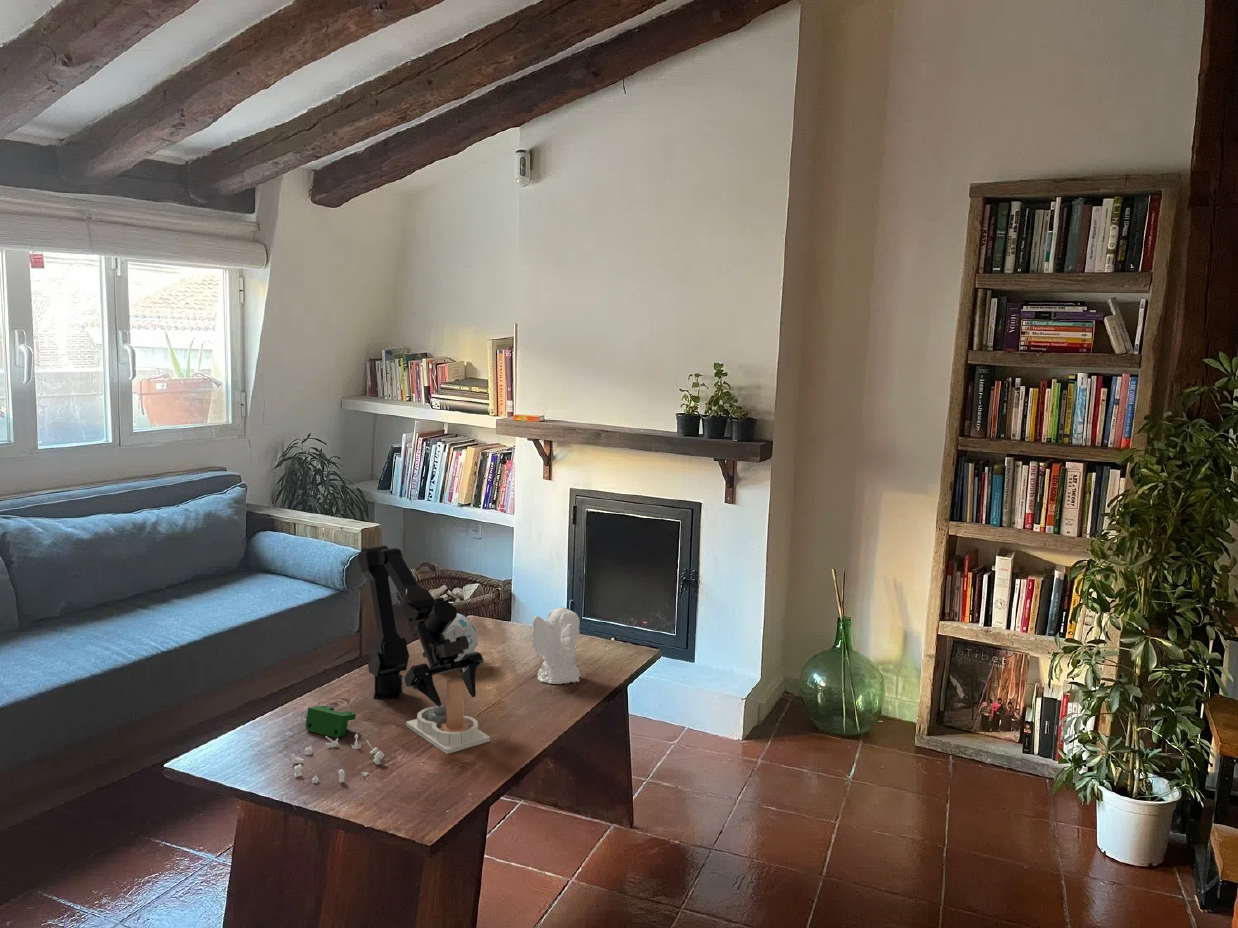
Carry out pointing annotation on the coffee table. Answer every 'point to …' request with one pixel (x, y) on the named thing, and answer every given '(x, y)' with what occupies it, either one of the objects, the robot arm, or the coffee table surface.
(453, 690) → the knob on notched ring
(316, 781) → the game piece set
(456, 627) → the puzzle ball
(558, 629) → the cherub figurine
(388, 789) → the coffee table surface
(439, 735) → the housing
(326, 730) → the clamp
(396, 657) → the robot arm
